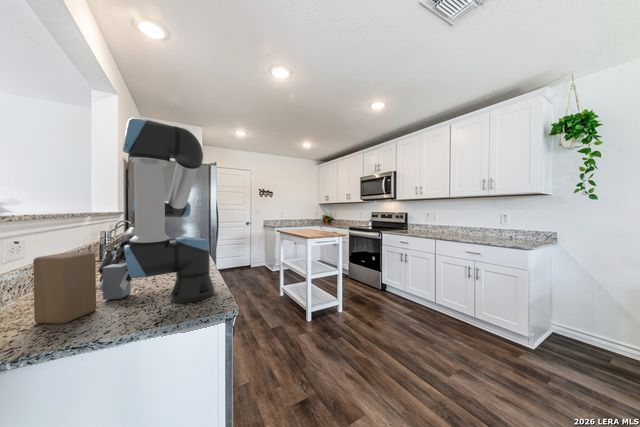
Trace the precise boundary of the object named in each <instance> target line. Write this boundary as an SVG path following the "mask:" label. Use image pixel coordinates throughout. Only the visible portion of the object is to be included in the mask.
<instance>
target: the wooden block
mask: <svg viewBox="0 0 640 427" xmlns="http://www.w3.org/2000/svg"><path fill="white" fill-rule="evenodd" d="M32 262H33V265H32V266H33V270H32V272H33V309H34V310H33V311H34V312H33V313H34V314H33V316H34V317H33V320H34V322H35V324H67V323H69V322H72V321H74V320H77V319H78V318H81V317H83V316H85V315H88V314H89V313H92V312H94V311H96V309H97V284H96V283H97V281H96V280H97V279H96V278H97V276H96V272H97V271H96V270H97V268H96V253H94V252H92V251H89V252H88V251H87V252H86V251H83V252H82V251H76V252H75V251H74V252H73V251H70V252H69V251H67V252H62V253H61V252H60V253H55V254H49V255H42V256H37V257H35V258H33V261H32Z"/></svg>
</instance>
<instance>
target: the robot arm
mask: <svg viewBox="0 0 640 427" xmlns="http://www.w3.org/2000/svg"><path fill="white" fill-rule="evenodd" d="M202 147H203V146H202V145H201V143H200V142H199V140H198V138H197V137H196V136H195V135H194V133H192V132H191V131H190V130H188V129H187V128H185V127H183V126H178V125H177V126H176V125H172V124H168V123H163V122H159V121H154V120H150V119H146V118H144V119H143V118H138V117H131V118H129V119H128V120H127V123H126V127H125V133H124V139H123V146H122V152H123V153H125V154H128V159H129V161H131V162H132V163H133V165H134V166H133V167H134V168H133V169H134V171H133V172H134V173H133V174H134V200H133V202H132V207H131V220H130V223H129V227H128V228H127V230H126V232H125V234H124V236H123V238H122V240H121V242H120V244H119V247H118V248H117V249H116V250H114V251H113V250H108V251H107V255H106V257H105V258H104V260H103V262H102V263H101V265H100V266H99V268H98V270H97V272H98V273H99V274H100V275H101V276H100V277H99V285H98V287H97V290H99V291H100V292H101V293H103V267H106V266H109V265H112V264H121V263H122V262H123V261H124V260H125V262H126V263H127V268H128V271H126V273H125V275H124V278H123V280H122V282H121V284H120V288H121V289H122V290H125V288H126V286H127V283H128V281H130V282H131V281H132V279H143V278H149V277H155V276H161V275H162V276H163V275H167V274H174V273H175V281H174V284H173V287H172V289H171V293H170V300H171V302H173V303H178V304H186V303H195V302H200V301H203V300H206V299H208V298H210V297H213V295H214V294H215V286H214V283H213V280H212V278H211V275H210V251H211V250H210V243H209V240H208V239H206V238H201V237H191V236H190V237H188V236H182V237H181V236H178V237H176V238H175V239H174V241H171V238H170V236H169V235H167V233H166V231H165V230H166V229H165V228H166V218H167V219H168V218H169V219H170V218H171V219H172V218H179V219H180V218H187V217H189V216H190V215H191V204H190V203H189V197H190V194H191V192H192V188H193V184H194V181H195V178H196V175H197V171H198V169H199V168H201V166H202V164H203V160H204V152H203V148H202ZM171 159H174V161H175V163H176V164H175V167H174V168H175V169H174V172H173V177H172V181H171V182H172V183H171V186H170V192H169V196H168V200H167V201H166V167H167V166H168V165H170V164H171ZM126 263H125V264H126Z"/></svg>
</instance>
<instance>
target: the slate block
mask: <svg viewBox="0 0 640 427" xmlns="http://www.w3.org/2000/svg"><path fill="white" fill-rule="evenodd" d="M126 271H128V268H127V263H119V264H112V265H109V266H106V267H103V292H102V300H103V301H105V300H106V301H107V300H116V299H118V300H119V299H123V298H125V297H127V296H128V295H129V294H131V289H132V288H131V287H132V286H131V281H128V283H127V286H126V288H125V290H122V289H121V288H120V284H121V282H122V280H123V278H124V275H125V273H126Z"/></svg>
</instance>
